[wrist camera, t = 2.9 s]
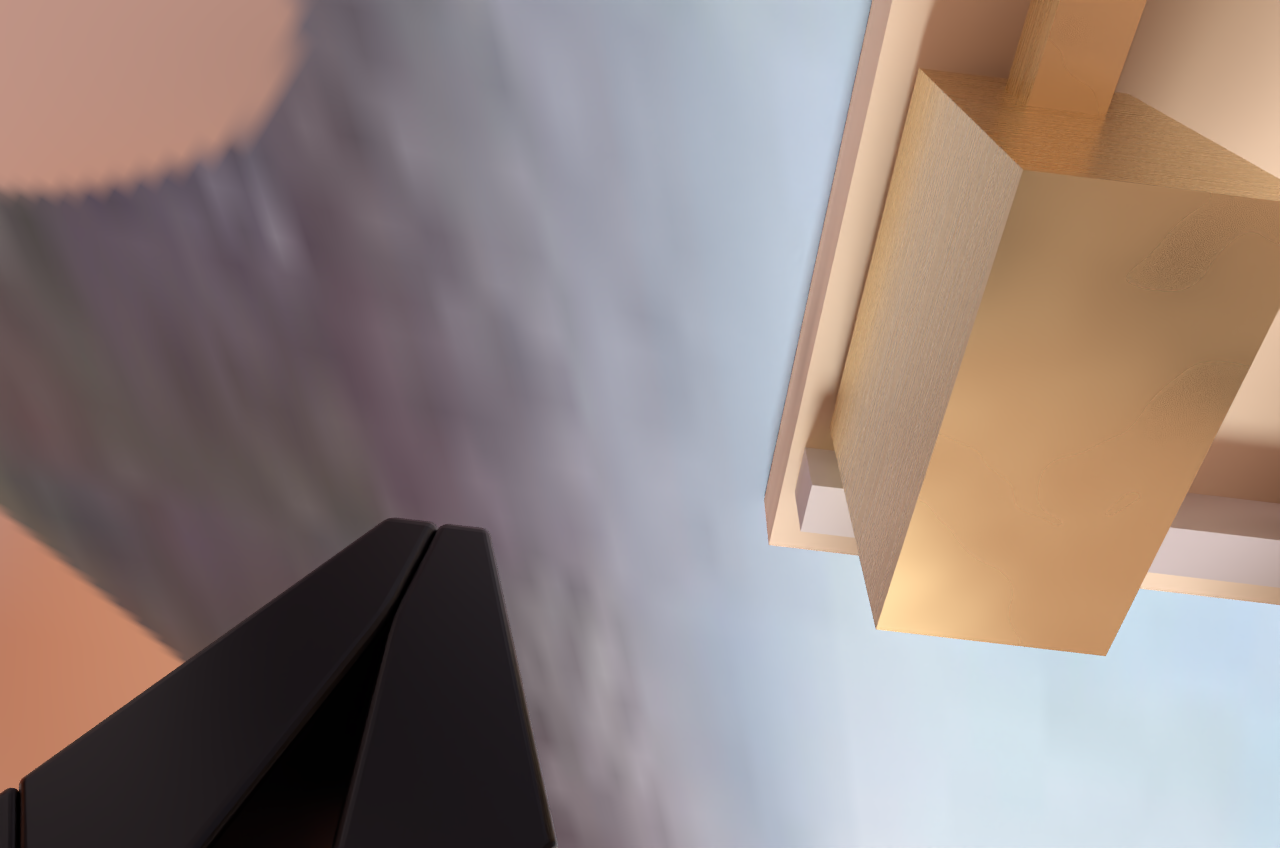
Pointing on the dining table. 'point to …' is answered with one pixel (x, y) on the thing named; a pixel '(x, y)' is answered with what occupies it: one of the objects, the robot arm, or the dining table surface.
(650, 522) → the dining table surface
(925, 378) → the sliding jaw
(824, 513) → the marking board
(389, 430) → the dining table surface
